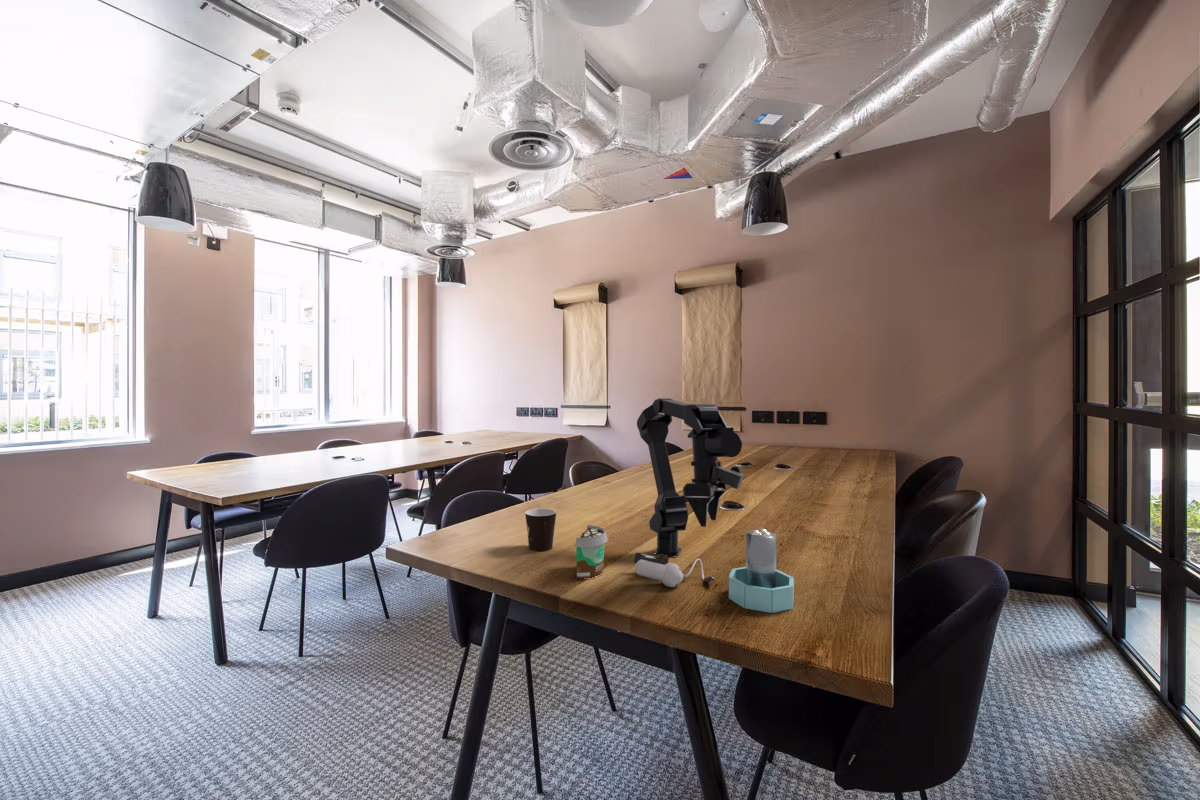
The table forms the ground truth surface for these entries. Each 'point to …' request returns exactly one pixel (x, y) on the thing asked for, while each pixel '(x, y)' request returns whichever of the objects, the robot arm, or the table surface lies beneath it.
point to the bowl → (761, 592)
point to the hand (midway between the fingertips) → (708, 523)
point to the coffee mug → (540, 529)
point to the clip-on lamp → (662, 569)
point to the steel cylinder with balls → (761, 558)
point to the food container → (590, 552)
